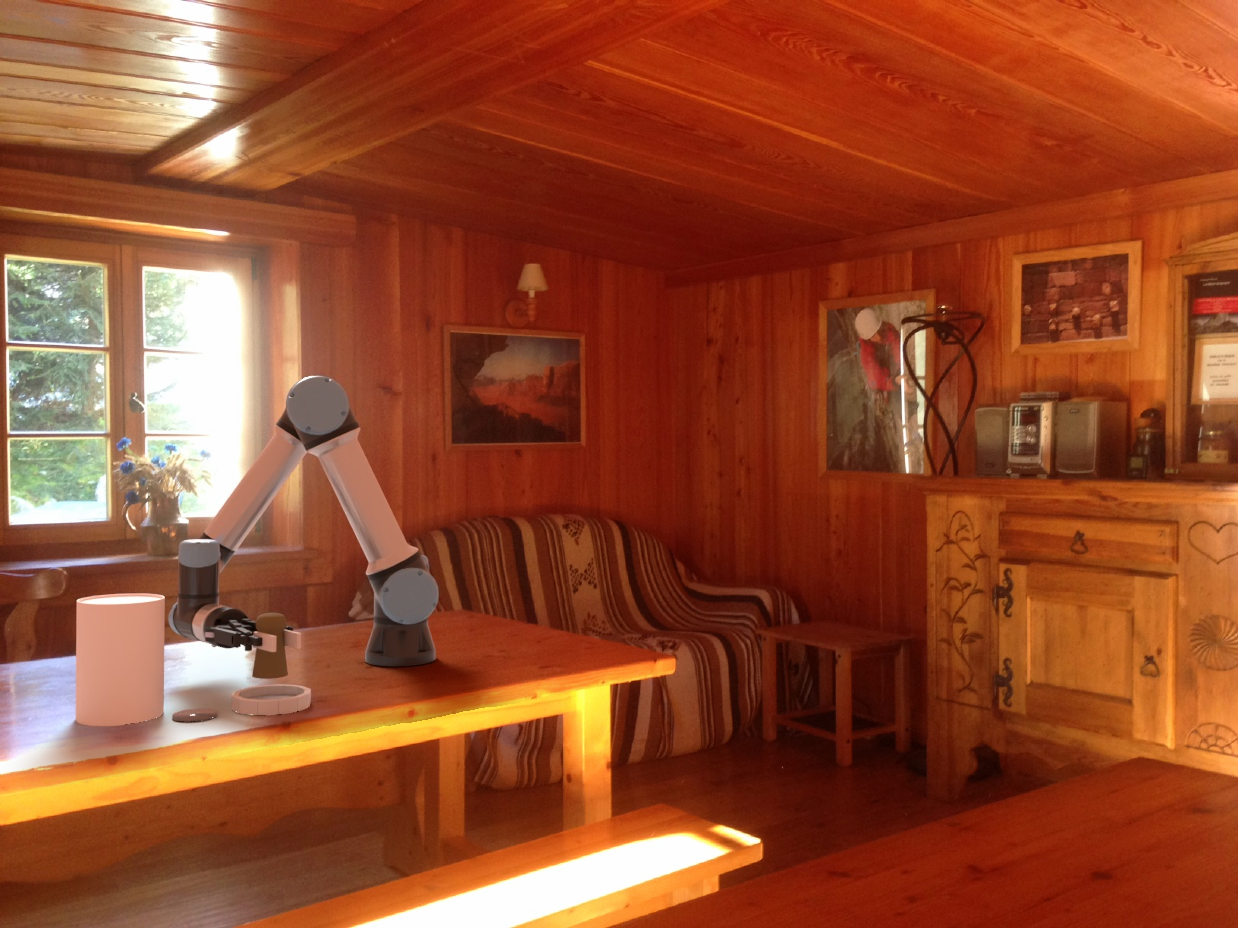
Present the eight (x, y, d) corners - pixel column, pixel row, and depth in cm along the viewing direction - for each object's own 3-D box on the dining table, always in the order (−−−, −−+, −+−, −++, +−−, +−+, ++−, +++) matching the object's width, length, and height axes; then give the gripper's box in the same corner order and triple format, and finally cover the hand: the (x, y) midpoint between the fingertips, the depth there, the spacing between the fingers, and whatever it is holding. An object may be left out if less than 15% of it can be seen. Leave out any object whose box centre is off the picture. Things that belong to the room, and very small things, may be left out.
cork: (276, 679, 181) (278, 616, 181) (245, 677, 183) (246, 614, 183) (294, 672, 187) (295, 611, 187) (263, 670, 189) (264, 610, 189)
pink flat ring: (312, 696, 193) (312, 683, 193) (307, 713, 180) (307, 699, 180) (238, 699, 190) (238, 685, 190) (227, 716, 177) (228, 702, 177)
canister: (72, 729, 168) (73, 605, 168) (78, 710, 181) (79, 595, 181) (163, 721, 174) (164, 602, 174) (163, 703, 186) (164, 592, 186)
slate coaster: (219, 711, 181) (219, 707, 181) (213, 721, 175) (213, 717, 175) (176, 712, 180) (176, 709, 180) (168, 722, 173) (168, 719, 173)
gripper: (263, 640, 203) (329, 657, 188) (176, 651, 191) (240, 670, 175) (264, 602, 203) (330, 616, 188) (177, 610, 191) (241, 626, 175)
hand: (286, 642), depth 181 cm, fingers closed on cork, 4 cm apart
